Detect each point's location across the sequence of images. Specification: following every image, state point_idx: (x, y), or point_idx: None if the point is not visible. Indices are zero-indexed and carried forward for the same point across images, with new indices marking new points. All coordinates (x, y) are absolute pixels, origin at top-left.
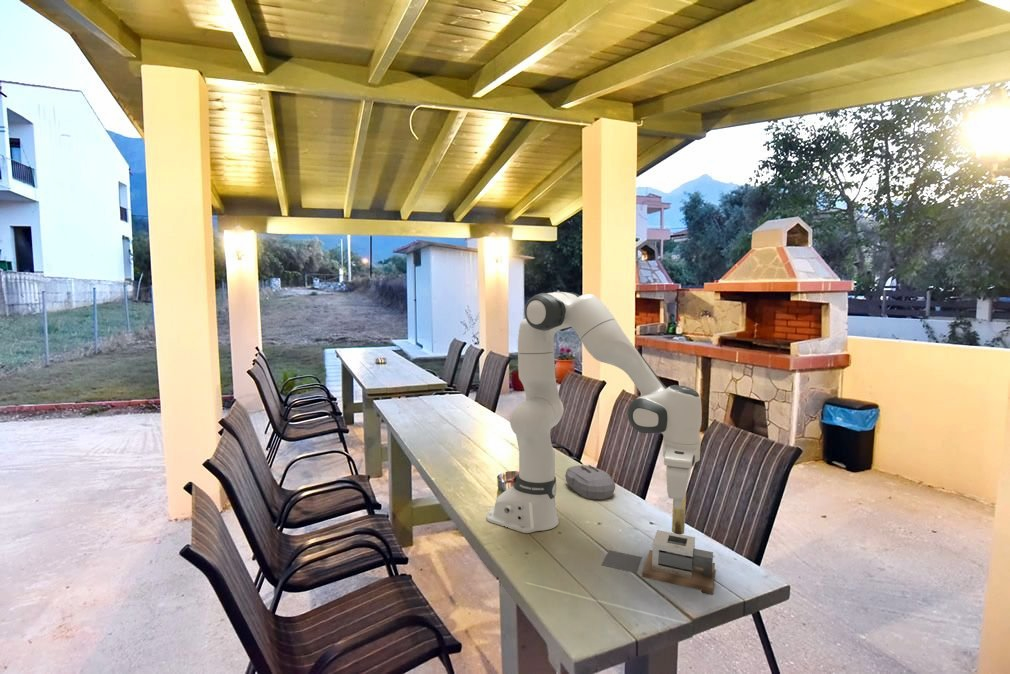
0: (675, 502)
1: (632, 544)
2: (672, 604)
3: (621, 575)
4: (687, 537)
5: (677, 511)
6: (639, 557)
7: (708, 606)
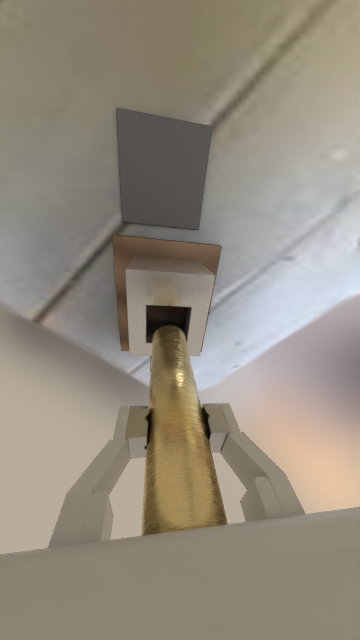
0: (114, 435)
1: (261, 200)
2: (56, 295)
3: (103, 183)
4: (192, 343)
5: (150, 390)
6: (194, 223)
7: (86, 340)
